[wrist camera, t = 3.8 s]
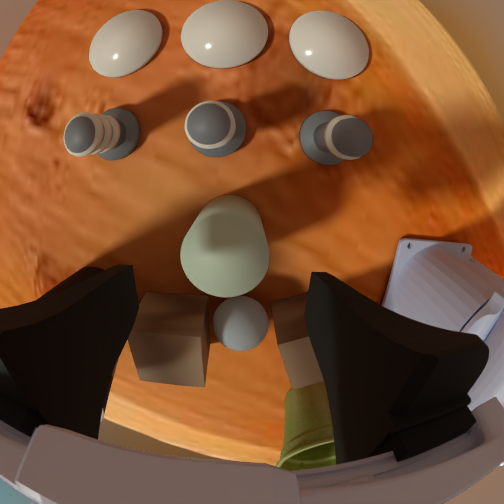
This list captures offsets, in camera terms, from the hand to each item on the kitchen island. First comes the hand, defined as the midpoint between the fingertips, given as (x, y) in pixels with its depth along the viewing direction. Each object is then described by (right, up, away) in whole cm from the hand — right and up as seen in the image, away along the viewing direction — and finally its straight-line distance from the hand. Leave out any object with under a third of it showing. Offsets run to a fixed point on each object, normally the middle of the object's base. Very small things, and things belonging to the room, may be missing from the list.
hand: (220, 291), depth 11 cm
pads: (-1, +16, +3) cm, 16 cm away
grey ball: (0, -3, +10) cm, 11 cm away
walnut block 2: (+6, -4, +11) cm, 13 cm away
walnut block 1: (-5, -4, +11) cm, 12 cm away
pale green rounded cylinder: (0, +3, +8) cm, 9 cm away
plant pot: (+8, -14, +15) cm, 22 cm away
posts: (-1, +9, +5) cm, 11 cm away
